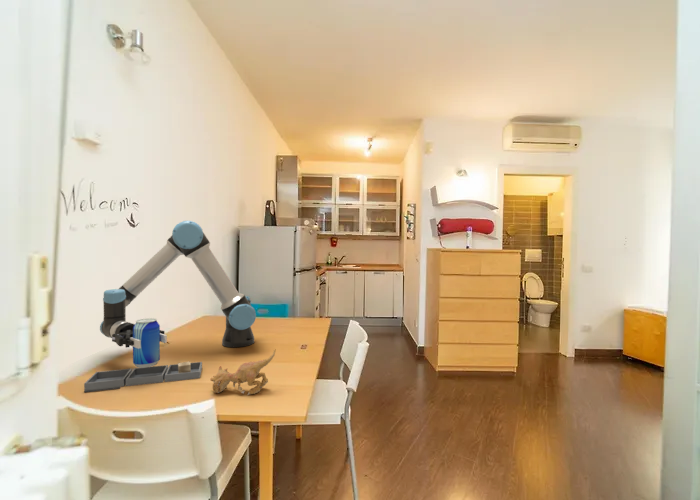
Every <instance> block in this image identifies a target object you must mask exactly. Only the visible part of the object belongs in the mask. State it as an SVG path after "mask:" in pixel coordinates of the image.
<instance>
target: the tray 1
mask: <svg viewBox="0 0 700 500" xmlns="http://www.w3.org/2000/svg"><path fill="white" fill-rule="evenodd" d="M132 370H133V368H124V369H113V370H104V371H103V370H102V371H96V372H95V373H93V375H91V377H89V378H88V379H87V380H86V381H85V382H84V383H83V386H84V387H83V388H84V389H83V390H84V391H83V392H84V393H93V392H100V391H101V392H102V391H110V390H118V389H119V390H120V389H121V388H123V387H126V378H127V377H128V376H129V374H130V373H131V372H132Z"/></svg>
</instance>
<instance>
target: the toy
mask: <svg viewBox="0 0 700 500" xmlns="http://www.w3.org/2000/svg"><path fill="white" fill-rule="evenodd" d="M275 354H276V348H274V350H273V352H272V354H271V355H270V356H269V357H268V358H264V359H263V360H261V359H260V360H256V361H248V362H243V363H242V364H240V366H238V369H237V370H236V372H234V373H233V372H228V368H225V369H223V367H222V366H219V368H218V371H217V373H216V374H215V375H213V377H211V378H210V381H211V382H213V383H212V391H213V392H214V393H216V394H219V393H222V392H224V390H225V389H226V387H228V385H229V384H230V382H231V383H232V386H233V388H235V387H236V384H238V385H237V391H239V392H240V393H241V394H243V395H244V394H245V393H246V391H245V389H243V388H242V386H241V384H243V383H247V385H248V386H250V387H251V388H250V389H249V391H248V393H247V396H249V395H255V394H258V393H260V392H261V389H262V388H263V387H265V386H266V385H267V383H269V378H268V377H266V372H262V371H261V370H262V369H263V368H265V367H267V365H268V364H269V363H271V362H272V360H273V358H274V357H275ZM260 371H261V372H260ZM260 378H262V379H261V381H260V380H256V379H260ZM252 386H254V387H252Z"/></svg>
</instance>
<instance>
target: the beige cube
mask: <svg viewBox="0 0 700 500" xmlns="http://www.w3.org/2000/svg"><path fill="white" fill-rule="evenodd" d="M190 363H191V361H183V362H177V364H178V373H186V372H191V364H190Z"/></svg>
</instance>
